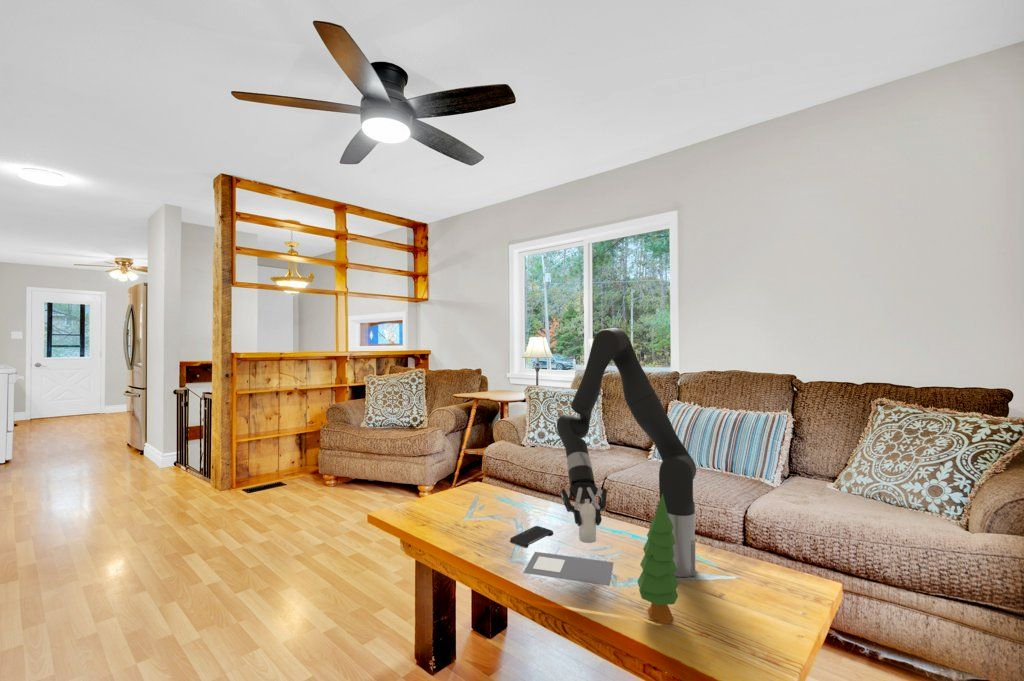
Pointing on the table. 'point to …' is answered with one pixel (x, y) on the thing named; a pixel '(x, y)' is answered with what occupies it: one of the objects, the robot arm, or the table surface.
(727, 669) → the table surface
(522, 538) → the phone
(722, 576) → the table surface
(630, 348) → the robot arm
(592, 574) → the mat
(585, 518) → the white rounded cylinder
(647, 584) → the decorative tree
